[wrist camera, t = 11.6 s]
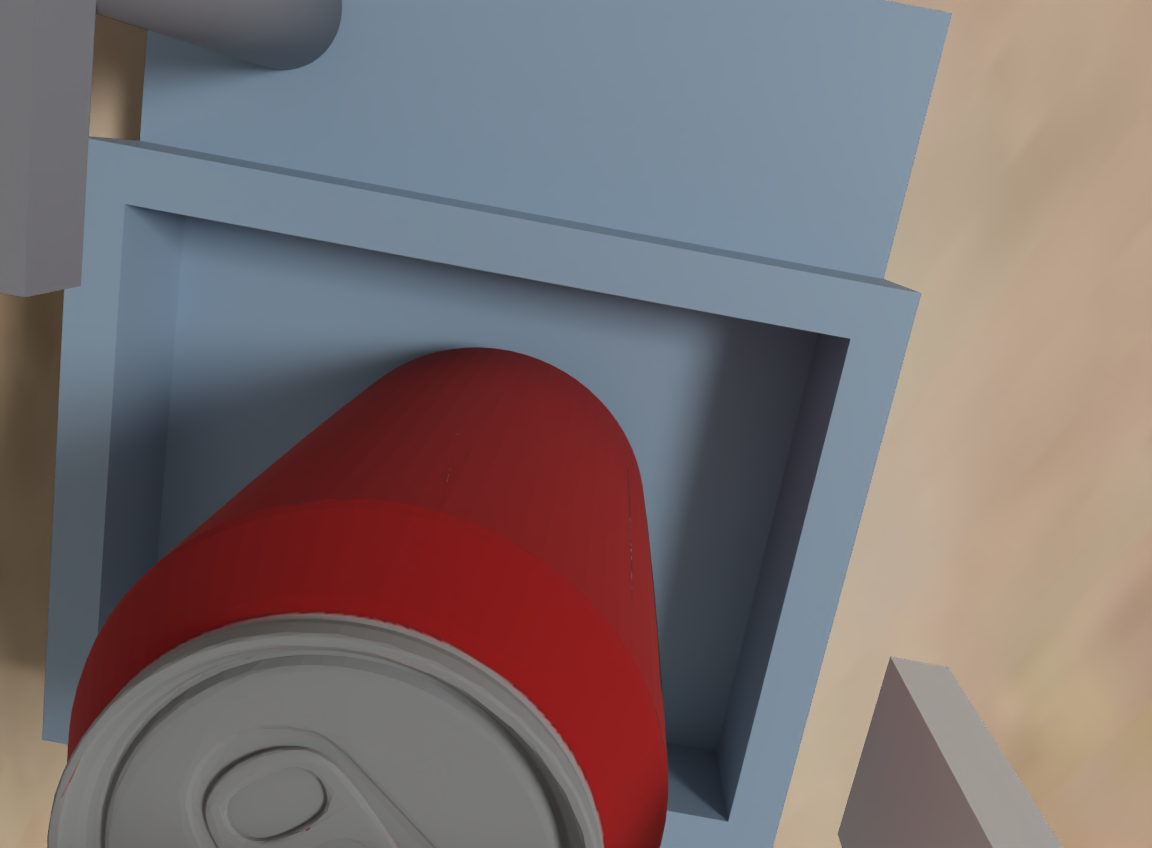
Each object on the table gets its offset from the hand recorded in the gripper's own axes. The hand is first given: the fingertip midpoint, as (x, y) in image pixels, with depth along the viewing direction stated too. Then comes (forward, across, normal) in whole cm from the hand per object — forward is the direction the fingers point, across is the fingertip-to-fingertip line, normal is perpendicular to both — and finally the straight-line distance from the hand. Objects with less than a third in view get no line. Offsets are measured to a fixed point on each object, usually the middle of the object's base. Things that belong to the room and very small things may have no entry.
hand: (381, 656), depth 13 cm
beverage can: (+8, 0, -1) cm, 8 cm away
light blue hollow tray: (+9, 0, +1) cm, 9 cm away
